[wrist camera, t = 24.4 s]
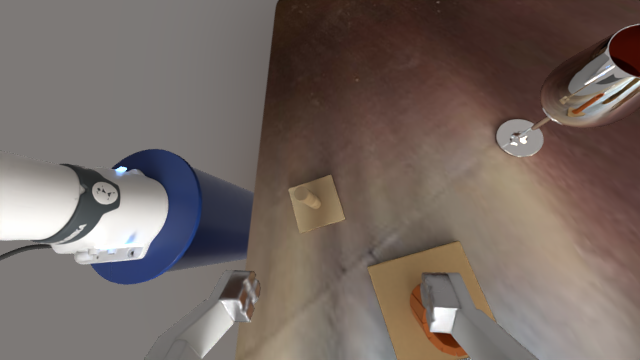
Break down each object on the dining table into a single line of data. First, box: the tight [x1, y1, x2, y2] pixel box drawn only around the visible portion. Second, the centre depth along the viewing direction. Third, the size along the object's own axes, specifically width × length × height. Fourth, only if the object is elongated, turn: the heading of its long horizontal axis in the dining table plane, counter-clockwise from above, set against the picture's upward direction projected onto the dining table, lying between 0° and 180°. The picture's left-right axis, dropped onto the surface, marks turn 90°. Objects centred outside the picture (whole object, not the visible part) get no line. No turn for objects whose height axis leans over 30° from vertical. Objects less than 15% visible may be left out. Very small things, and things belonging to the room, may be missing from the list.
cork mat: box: [368, 241, 496, 360], centre depth 33 cm, size 14×14×1 cm
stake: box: [288, 175, 345, 233], centre depth 36 cm, size 8×8×10 cm
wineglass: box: [496, 24, 640, 157], centre depth 28 cm, size 8×8×18 cm
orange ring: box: [410, 283, 468, 357], centre depth 29 cm, size 6×6×8 cm
